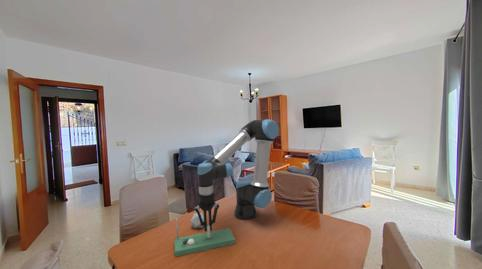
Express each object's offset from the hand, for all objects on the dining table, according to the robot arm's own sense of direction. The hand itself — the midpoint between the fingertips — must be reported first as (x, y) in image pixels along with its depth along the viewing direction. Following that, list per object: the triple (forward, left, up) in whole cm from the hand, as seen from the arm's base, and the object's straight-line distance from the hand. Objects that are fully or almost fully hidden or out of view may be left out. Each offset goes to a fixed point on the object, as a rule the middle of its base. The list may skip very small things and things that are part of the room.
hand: (208, 236), depth 111 cm
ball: (+9, +1, -1) cm, 9 cm away
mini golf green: (+2, 0, -3) cm, 4 cm away
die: (+3, -19, -4) cm, 19 cm away
